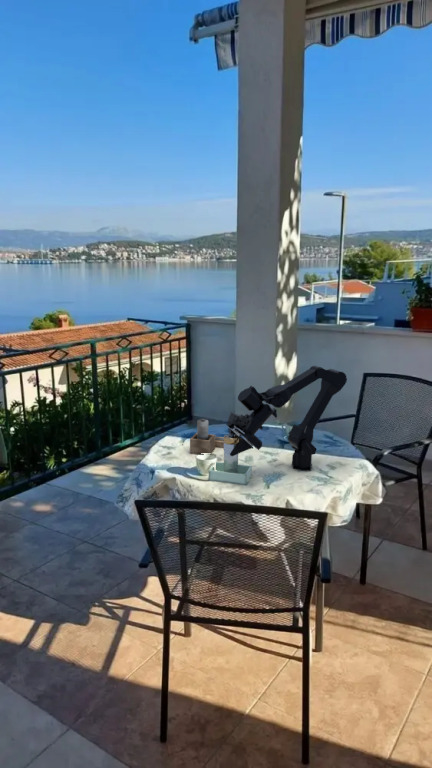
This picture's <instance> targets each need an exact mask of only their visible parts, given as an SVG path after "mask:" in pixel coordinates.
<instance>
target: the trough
mask: <svg viewBox="0 0 432 768" xmlns="http://www.w3.org/2000/svg"><path fill="white" fill-rule="evenodd" d="M215 462H216V470H217V471H214V467H212V466H211V467H210V469H208V481H210V482H211V481H212V482H218V483H227V484H228V483H229V484H234V485H241V486H242V485H243V486H247V485H248V482H249V481H250V479H251V477H252V475H253V473H252V472H253V471H252V470H253V466H252V465H246V464H239V463H238V474H237V473H228V472H224V462H223V461H221V462H220V461H215Z"/></svg>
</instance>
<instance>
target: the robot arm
mask: <svg viewBox="0 0 432 768" xmlns="http://www.w3.org/2000/svg"><path fill="white" fill-rule="evenodd" d="M319 379H321V381H320V390H319V392H318V394H317V395H316V397H315V399H314V401H313V402H312V404H311V405H310V407H309V409H308V411H307V413H306V415H305V417H303V420H302V422H301V423H299V424H298V425H296V424H295V423H294V424H293V425H292V427H291V429H290V431H289V432H288V437H287V439H288V443H289V445H290V446H291V448H292V449H293V450H294V452H293V453H292V459H291V461H292V462H291V465H292V469H293V470H298V469H305V470H304V471H307V470H312V467H311V466H312V465H313V463H312V462H313V455H316V452H317V448H316V447H315V446H314V445H313V444H312V442H313V439H314V429H315V428H316V426H317V424H318V422H319V421H320V419H321V417H322V415H323V414H324V412H325V410H326V408H327V407H328V405H329V404H330V401H331V400H332V398H333V396H334V395H337V393H339V392H341V390H342V389H343V387H344V386H345V385H346V383H347V381H348V377H347V374H346V373H345V372H343V371H341V370H337V369H335V368H329V369H325V368H323V367H322V366H321V367H320V366H317V365H312V366H310V367H309V368H308V369H306V370H305V371H304V372H302V373H301V374H298V375H297V376H295V377H294V378H292V379H290V380H289V381H286V383H283V384H279V385H276V386H273V387H269V388H268V389H267V390H265V391H262V392H259V391H257V389H256V387H254V386H253V385H250V386H249V387H247V388H245V389H243V390H242V391H240V392H239V394H238V396H237V400H238V401H239V402H240V404H242V405H243V407H244V408H246V409H247V410H248V411H250V414H248V413H246V414H245V415H244V414H243V413H242V414H238V413H235V412H233V411H231V412H230V413H229V416H228V419H227V422H226V423H225V425H226V426H227V427H228V434H230V433H232V434H235V435H238V436H239V442H238V443H237V444H236V446H235V447H234V449H233V450H232V451H231V453H230V455H231V456H234V455H236V454H238V455H240V453H243V452H245V451H248V450H251V449H256V450H258V451H260V449H261V448H262V447H263V441H262V440H261V439H259V438H258V437H257V435H255V434H257V432H259V430H261V431H262V430H263V429H264V427H263V425H264V424H265V422H267V420H268V419H269V418H270V417H271V416H272V417H273V418H275V419H276V418H278V414H277V412H278V410H277V409H276V408H278V409H279V408H283V407H284V406H285V405H286V404H288V402H289V401H290V400H291V398H292V396H293V395H295V394H297V393H298V392H300V391H301V390H303V389H305V388H306V387H308V386H309V385H311V384H312V383H314V382H316V381H318V380H319ZM270 405H271V406H272V407H271V406H270ZM273 407H274V408H273ZM251 411H252V412H251Z"/></svg>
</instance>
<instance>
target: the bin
mask: <svg viewBox="0 0 432 768" xmlns="http://www.w3.org/2000/svg"><path fill="white" fill-rule="evenodd" d="M196 421H197V422H196V426H197V427H196V428H197V429H196V430H197V431H196V433H195V434H193V436H191V438H189V454H190V455H198V454H201V453H211V454H213V452H214V451H215V450H216V447H215V437H216V434H211V433H210V434H209V420H208V419H205V418H200V419H198V420H196Z"/></svg>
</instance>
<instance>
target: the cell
mask: <svg viewBox="0 0 432 768" xmlns="http://www.w3.org/2000/svg"><path fill="white" fill-rule="evenodd" d="M223 437H224V448H223V463H224V472H228V473H237V474H238V464H239V454H236V455H234V456H231V455H230V453H231V451H232V450H233V449H234V447H235V446H236V444H237V443H238V442H239V436H238V435H235V434H232V433H230V434H229V433H228V434H224V435H223Z"/></svg>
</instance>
